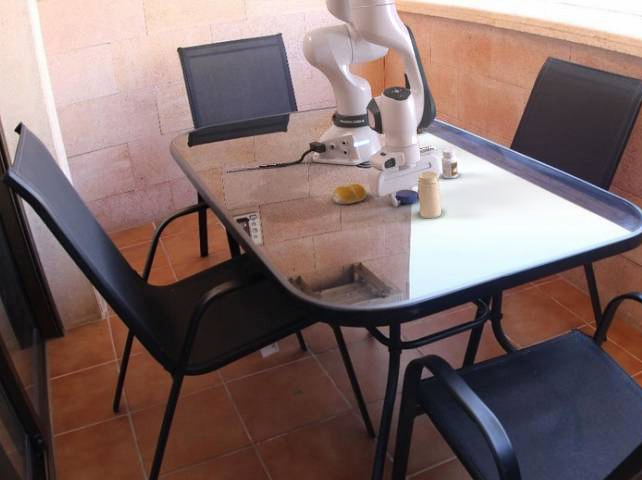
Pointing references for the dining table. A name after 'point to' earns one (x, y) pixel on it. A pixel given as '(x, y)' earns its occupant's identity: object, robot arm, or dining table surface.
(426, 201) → the beige cylinder
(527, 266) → the dining table surface
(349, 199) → the bread roll
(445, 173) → the pill bottle
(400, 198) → the lid
